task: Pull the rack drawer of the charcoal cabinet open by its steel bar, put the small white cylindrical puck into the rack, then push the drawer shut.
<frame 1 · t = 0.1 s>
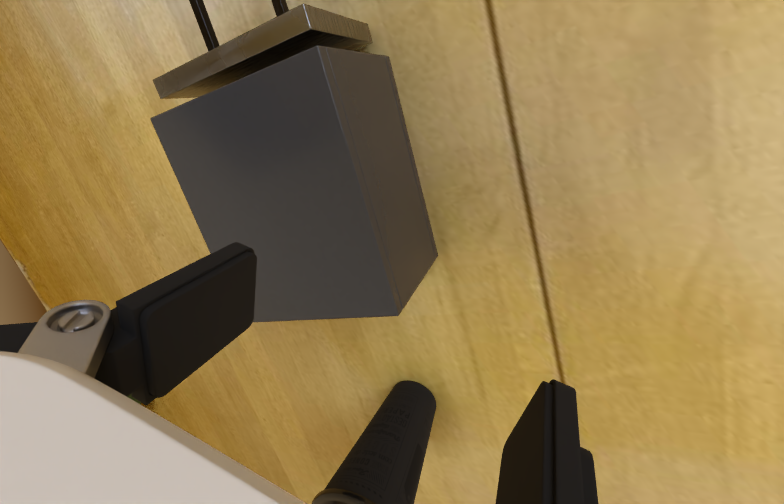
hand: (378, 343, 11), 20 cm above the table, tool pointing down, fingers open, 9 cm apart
drawer: (282, 110, 26), point 5 cm above the table, slide at 1.0 cm
cabinet: (342, 181, 32), on the table
drinking cup: (414, 397, 39), on the table
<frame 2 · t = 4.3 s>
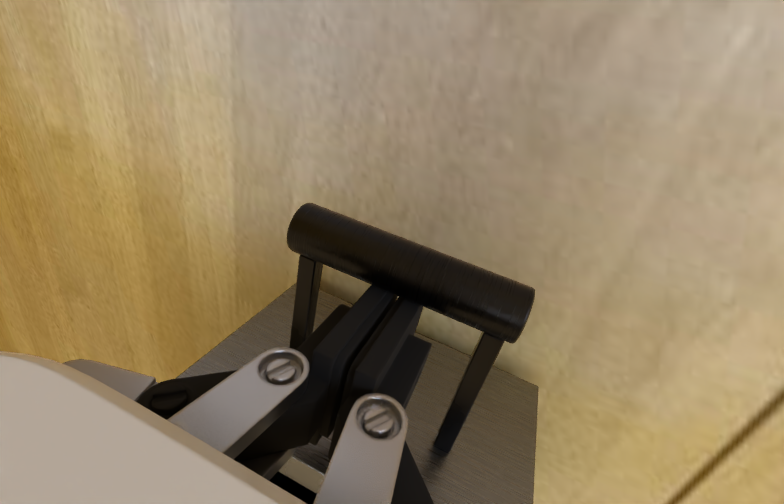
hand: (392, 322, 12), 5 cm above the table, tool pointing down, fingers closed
drawer: (359, 445, 16), point 5 cm above the table, slide at 1.8 cm, touching gripper
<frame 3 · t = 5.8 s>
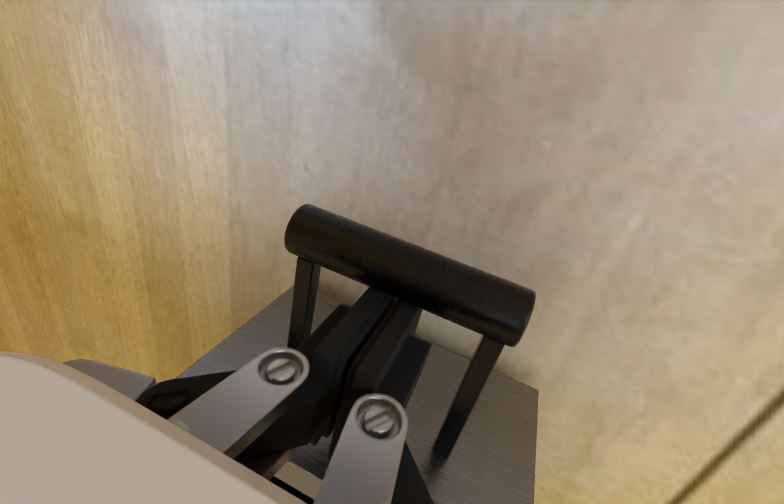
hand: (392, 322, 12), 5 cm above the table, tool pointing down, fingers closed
drawer: (357, 449, 16), point 5 cm above the table, slide at 7.6 cm
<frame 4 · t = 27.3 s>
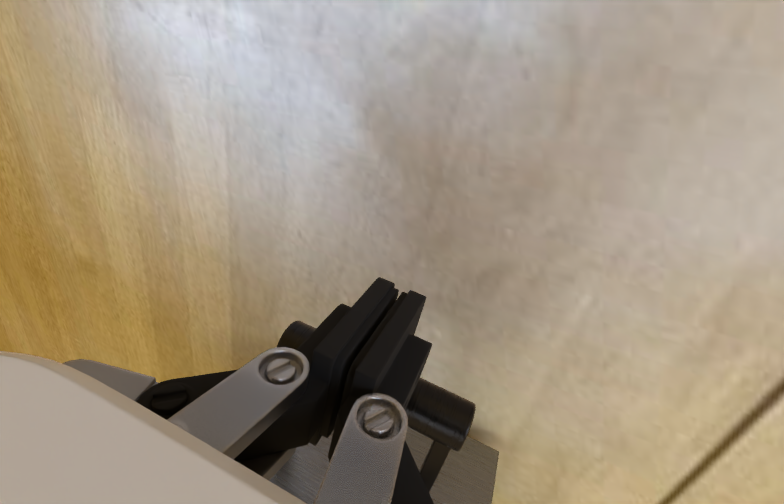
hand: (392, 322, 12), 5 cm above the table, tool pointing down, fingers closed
drawer: (341, 503, 19), point 5 cm above the table, slide at 6.4 cm, touching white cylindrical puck, gripper
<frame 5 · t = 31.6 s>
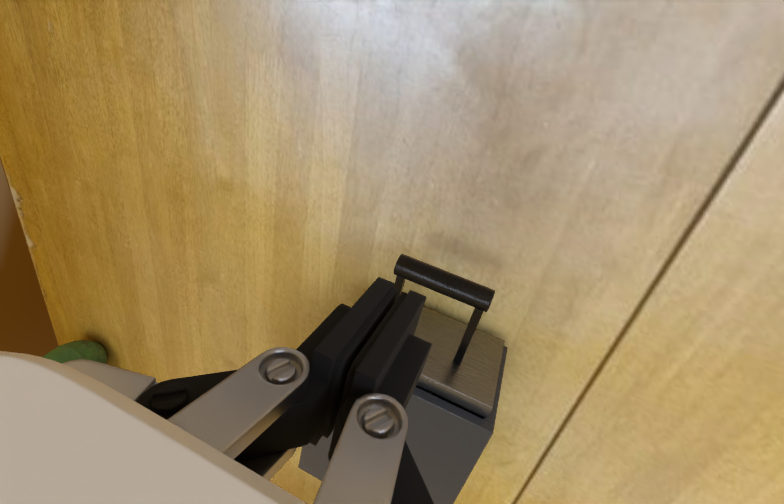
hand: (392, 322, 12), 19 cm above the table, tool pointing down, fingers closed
fruit: (104, 349, 62), on the table
drawer: (413, 370, 32), point 5 cm above the table, slide at 0.0 cm, touching cabinet, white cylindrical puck
cabinet: (415, 375, 39), on the table
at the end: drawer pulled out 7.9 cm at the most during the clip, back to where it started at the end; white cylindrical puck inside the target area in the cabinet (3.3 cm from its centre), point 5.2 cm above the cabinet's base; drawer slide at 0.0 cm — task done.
